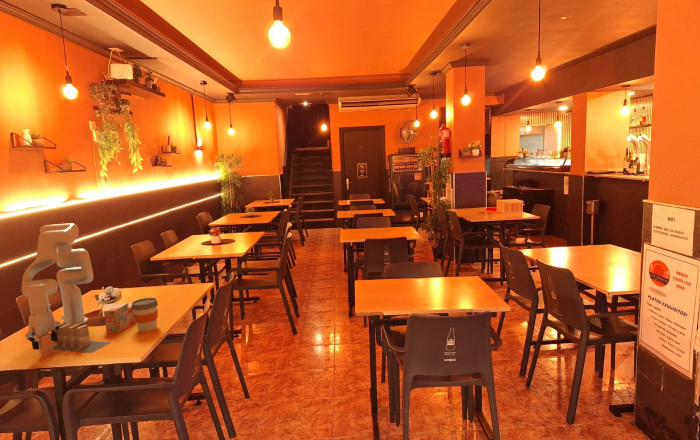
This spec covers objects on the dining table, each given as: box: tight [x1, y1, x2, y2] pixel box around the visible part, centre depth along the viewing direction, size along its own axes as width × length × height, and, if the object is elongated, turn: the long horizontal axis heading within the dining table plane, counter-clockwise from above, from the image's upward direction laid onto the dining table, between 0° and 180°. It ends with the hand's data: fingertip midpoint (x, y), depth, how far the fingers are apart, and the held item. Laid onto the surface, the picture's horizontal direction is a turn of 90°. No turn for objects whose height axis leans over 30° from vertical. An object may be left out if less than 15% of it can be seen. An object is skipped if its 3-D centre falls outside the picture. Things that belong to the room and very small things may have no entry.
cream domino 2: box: [60, 324, 72, 347], centre depth 227 cm, size 2×5×10 cm, turn 165°
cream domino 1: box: [53, 322, 64, 347], centre depth 228 cm, size 2×5×10 cm, turn 165°
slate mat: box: [52, 340, 112, 354], centre depth 226 cm, size 28×12×1 cm, turn 74°
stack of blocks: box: [103, 302, 136, 333], centre depth 252 cm, size 21×6×12 cm, turn 174°
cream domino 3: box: [68, 324, 81, 348], centre depth 225 cm, size 2×5×10 cm, turn 165°
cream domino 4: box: [77, 324, 91, 348], centre depth 224 cm, size 2×5×10 cm, turn 165°
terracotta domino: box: [37, 332, 54, 358], centre depth 217 cm, size 2×5×10 cm, turn 164°
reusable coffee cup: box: [131, 297, 159, 333], centre depth 244 cm, size 12×13×15 cm
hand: (45, 345), depth 216 cm, fingers open, 9 cm apart
